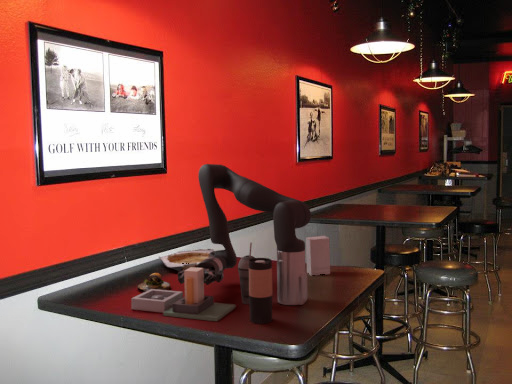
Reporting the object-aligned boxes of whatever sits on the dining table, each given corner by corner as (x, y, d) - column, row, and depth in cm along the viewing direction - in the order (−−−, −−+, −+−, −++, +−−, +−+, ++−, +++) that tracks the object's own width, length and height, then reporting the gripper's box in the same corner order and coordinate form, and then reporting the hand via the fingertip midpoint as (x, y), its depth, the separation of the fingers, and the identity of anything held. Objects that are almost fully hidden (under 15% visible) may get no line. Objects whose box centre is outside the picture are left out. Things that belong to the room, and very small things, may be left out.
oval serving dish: (235, 262, 238) (200, 254, 253) (234, 253, 238) (200, 246, 253) (178, 277, 215) (144, 268, 230) (178, 267, 214) (144, 258, 230)
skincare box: (325, 271, 218) (325, 235, 216) (330, 274, 212) (330, 237, 211) (305, 272, 216) (305, 236, 215) (310, 276, 210) (310, 238, 209)
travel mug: (253, 315, 162) (252, 257, 160) (275, 317, 160) (274, 258, 159) (246, 323, 155) (245, 262, 154) (269, 325, 153) (268, 263, 152)
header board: (235, 307, 170) (235, 297, 170) (216, 321, 157) (216, 309, 157) (185, 302, 177) (184, 292, 176) (163, 315, 164) (162, 304, 163)
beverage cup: (247, 297, 181) (246, 239, 180) (264, 301, 177) (263, 241, 175) (233, 302, 176) (232, 242, 174) (250, 306, 171) (249, 245, 169)
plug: (204, 305, 170) (203, 267, 169) (196, 311, 164) (195, 272, 163) (191, 304, 172) (190, 267, 171) (183, 310, 165) (182, 271, 164)
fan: (201, 298, 182) (201, 288, 182) (175, 314, 165) (175, 302, 165) (160, 294, 187) (160, 284, 187) (131, 309, 171) (131, 298, 170)
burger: (130, 290, 194) (130, 270, 194) (157, 283, 203) (156, 264, 202) (150, 296, 186) (150, 275, 186) (177, 289, 195) (176, 269, 194)
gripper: (189, 258, 184) (171, 268, 168) (229, 259, 181) (215, 270, 165) (189, 279, 185) (172, 292, 169) (229, 281, 182) (215, 294, 166)
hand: (193, 281), depth 167 cm, fingers open, 8 cm apart
